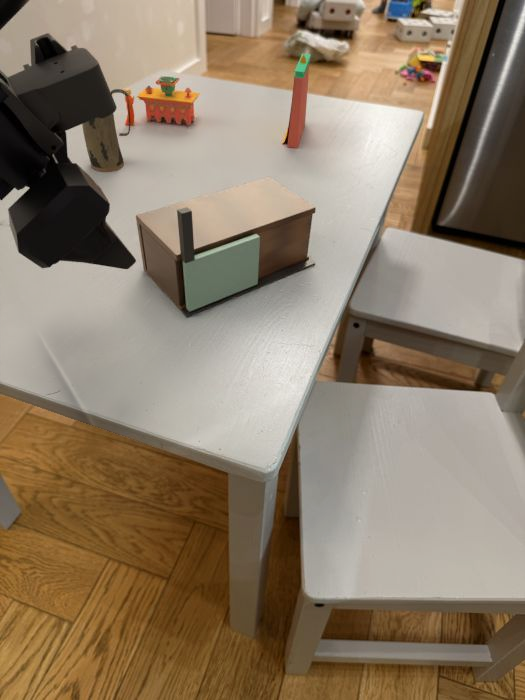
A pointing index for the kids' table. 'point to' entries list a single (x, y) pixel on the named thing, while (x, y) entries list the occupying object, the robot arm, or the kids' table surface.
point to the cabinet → (229, 234)
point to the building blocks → (181, 102)
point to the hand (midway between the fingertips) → (115, 236)
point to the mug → (104, 141)
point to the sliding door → (215, 266)
